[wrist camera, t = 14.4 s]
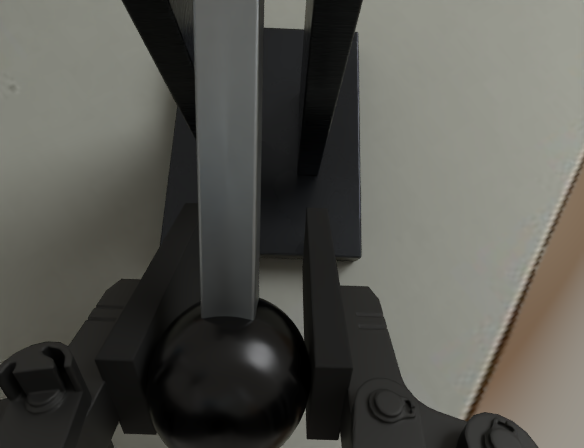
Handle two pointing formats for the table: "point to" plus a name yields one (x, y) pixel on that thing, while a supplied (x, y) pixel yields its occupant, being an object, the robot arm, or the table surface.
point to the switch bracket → (277, 120)
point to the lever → (228, 265)
